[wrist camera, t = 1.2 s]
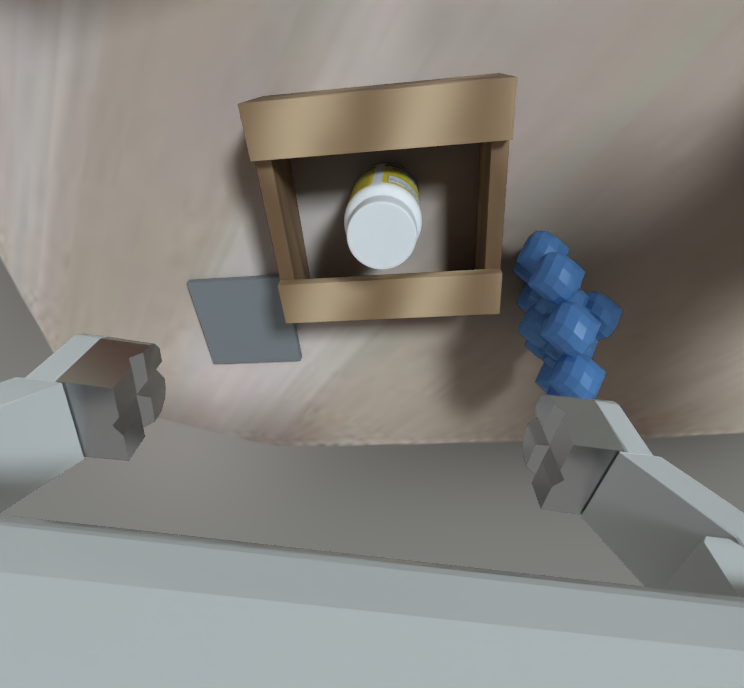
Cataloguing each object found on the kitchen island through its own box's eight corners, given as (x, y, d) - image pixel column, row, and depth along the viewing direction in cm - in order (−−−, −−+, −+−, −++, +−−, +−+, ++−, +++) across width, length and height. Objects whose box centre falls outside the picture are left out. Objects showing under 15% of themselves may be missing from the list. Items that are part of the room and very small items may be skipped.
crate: (499, 73, 28) (517, 77, 23) (487, 280, 35) (499, 313, 31) (263, 96, 29) (237, 103, 25) (300, 290, 37) (285, 323, 32)
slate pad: (285, 274, 36) (283, 277, 35) (302, 356, 40) (300, 360, 40) (189, 279, 37) (186, 282, 36) (216, 359, 41) (214, 363, 41)
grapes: (592, 336, 37) (661, 441, 27) (509, 352, 39) (546, 457, 29) (590, 199, 31) (677, 268, 21) (492, 222, 33) (531, 298, 23)
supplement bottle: (357, 232, 34) (345, 279, 27) (348, 166, 31) (331, 199, 24) (421, 225, 33) (426, 272, 26) (417, 158, 31) (420, 189, 24)
